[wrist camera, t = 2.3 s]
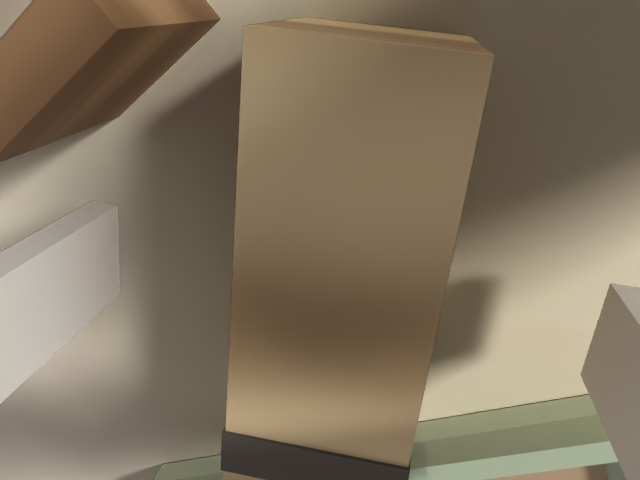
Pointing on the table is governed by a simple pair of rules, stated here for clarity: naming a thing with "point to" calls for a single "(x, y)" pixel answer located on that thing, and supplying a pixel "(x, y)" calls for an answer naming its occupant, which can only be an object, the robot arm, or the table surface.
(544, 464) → the pale green flat frame
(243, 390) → the oak bar
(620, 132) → the table surface
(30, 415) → the table surface
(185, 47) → the walnut bar
